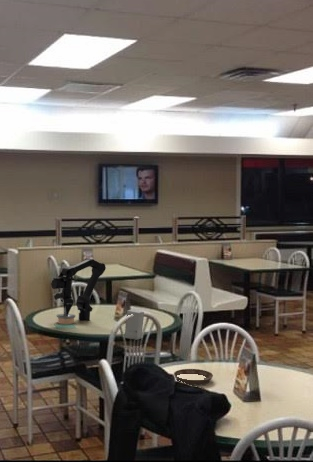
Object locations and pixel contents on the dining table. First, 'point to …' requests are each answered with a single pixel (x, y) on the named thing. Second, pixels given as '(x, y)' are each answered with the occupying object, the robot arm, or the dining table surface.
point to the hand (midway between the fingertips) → (66, 312)
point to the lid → (65, 315)
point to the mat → (64, 326)
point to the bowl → (65, 320)
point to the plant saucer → (194, 371)
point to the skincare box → (134, 325)
